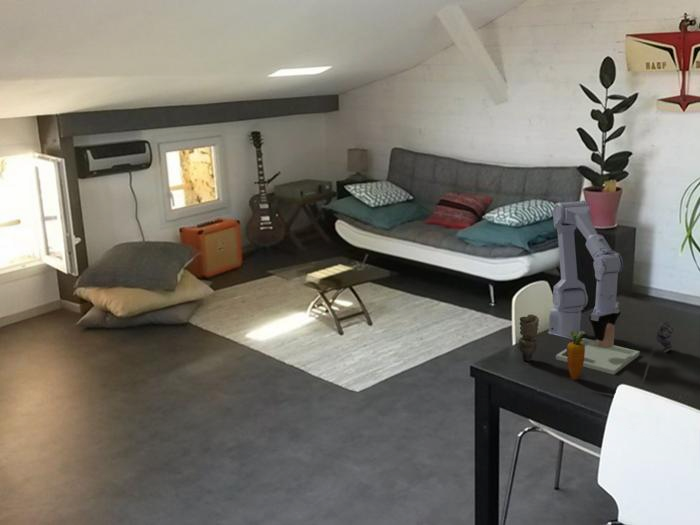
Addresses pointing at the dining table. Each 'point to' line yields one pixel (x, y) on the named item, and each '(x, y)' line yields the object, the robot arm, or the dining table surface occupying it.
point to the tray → (603, 357)
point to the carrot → (575, 356)
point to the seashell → (665, 335)
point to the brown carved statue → (528, 336)
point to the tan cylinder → (607, 337)
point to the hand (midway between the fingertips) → (603, 336)
